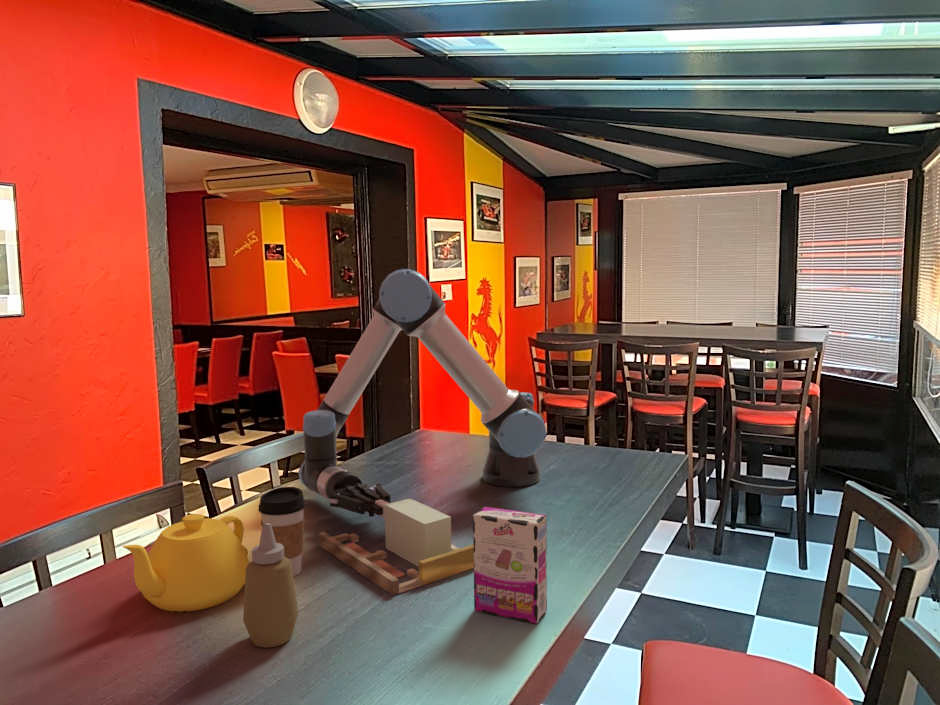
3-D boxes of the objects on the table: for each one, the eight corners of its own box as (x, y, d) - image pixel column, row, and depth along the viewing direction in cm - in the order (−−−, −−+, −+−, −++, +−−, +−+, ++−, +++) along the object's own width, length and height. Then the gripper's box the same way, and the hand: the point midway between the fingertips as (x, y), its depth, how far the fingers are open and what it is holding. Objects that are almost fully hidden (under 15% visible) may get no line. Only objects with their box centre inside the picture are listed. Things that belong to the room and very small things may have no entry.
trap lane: (318, 545, 144) (318, 526, 143) (400, 523, 156) (400, 505, 155) (393, 595, 121) (392, 573, 121) (482, 565, 133) (481, 544, 133)
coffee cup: (316, 565, 134) (313, 488, 132) (291, 584, 126) (288, 503, 124) (278, 559, 137) (275, 484, 135) (251, 578, 129) (247, 498, 127)
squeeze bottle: (310, 631, 110) (305, 519, 107) (275, 657, 102) (269, 538, 100) (269, 621, 113) (263, 512, 111) (232, 645, 106) (226, 529, 104)
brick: (385, 548, 142) (384, 504, 141) (410, 540, 146) (409, 498, 145) (425, 571, 131) (424, 524, 130) (451, 562, 135) (450, 516, 134)
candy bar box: (548, 611, 115) (548, 514, 113) (537, 625, 111) (537, 524, 109) (485, 598, 120) (484, 504, 118) (472, 611, 116) (471, 514, 114)
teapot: (166, 640, 108) (160, 554, 106) (92, 614, 116) (86, 534, 114) (281, 576, 130) (278, 504, 128) (212, 558, 138) (208, 490, 136)
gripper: (365, 496, 166) (421, 525, 147) (314, 508, 158) (366, 540, 139) (365, 465, 165) (421, 490, 146) (313, 475, 157) (365, 503, 139)
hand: (394, 514), depth 143 cm, fingers closed
